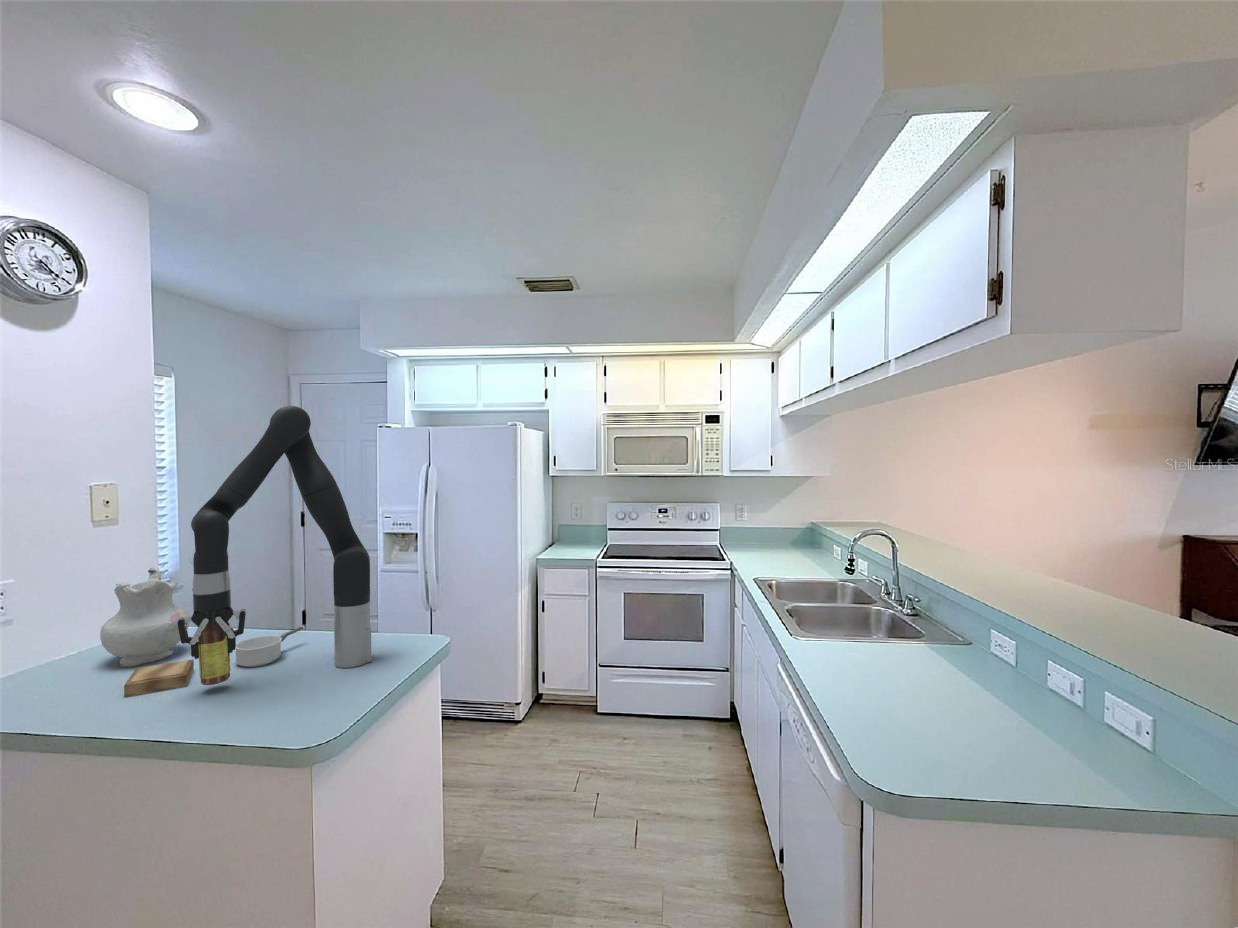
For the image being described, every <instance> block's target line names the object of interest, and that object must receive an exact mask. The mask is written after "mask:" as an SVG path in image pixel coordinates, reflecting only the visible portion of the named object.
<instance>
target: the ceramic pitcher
mask: <svg viewBox="0 0 1238 928" xmlns="http://www.w3.org/2000/svg"><path fill="white" fill-rule="evenodd" d="M147 572H148V580H146V581H143V582H142V581H141V582H137V583H133V584H132V585H131V584H130V581H123V582H121V583H115V585H116V586H115V587H114V589H113V592H114V594H115V595H116V597H117V600H118V602H119V610H118V611H117V613H116V614H115V615H113V616H112V617H110V618H109V619H108V620H107V621H105V623H104V624H102V626H101V628H100V633H99V635H100V643H101V645H102V646H103V648H104V649H105V650H106V652H108V653H109V654H111V655H113V657H114V656H115V657H121V659H120V660H119V666H120V667H123V668H130V667H131V668H132V667H135V666H138V665H139V666H140V665H142V664H146V663H150V662H154V661H155V662H156V661H160V660H164V659H166V658H168V657H170V656H172V655H173V654H174V652H173V651H172V650H171V649H170V648H173V647H174V646H177V644H178V643H179V642H181V640H180V635H179V629H178V624H177V622H178V620H179V619H180V618H182V617H183V618H187V617H190V616H189V614H188V613H187V612H186V611H185V610H183V609H182V608H180V607H178V606H176V605H175V604H174V603H173V593H174V590H175V589H176V587H177V585H178V582H177V581H175V580H174V581H171V582H168V581H165V580H162V577H161V575H162V574H161V573H160V571H159V570H158V569H157V568H155V567H151V568H149V569H148V570H147ZM189 626H190V624H189V625H188V626H187V631H188V629H189Z"/></svg>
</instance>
